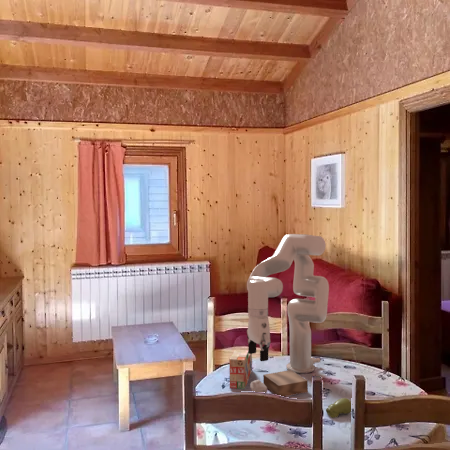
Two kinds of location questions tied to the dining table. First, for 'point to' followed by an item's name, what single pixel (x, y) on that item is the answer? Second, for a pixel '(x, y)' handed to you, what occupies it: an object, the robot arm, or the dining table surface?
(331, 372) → the dining table surface
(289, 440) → the dining table surface
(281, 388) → the walnut block
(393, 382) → the dining table surface
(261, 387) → the frog figurine
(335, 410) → the pear
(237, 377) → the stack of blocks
